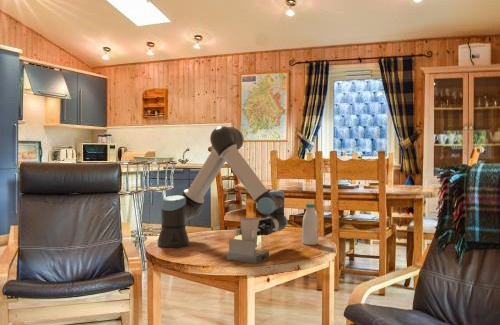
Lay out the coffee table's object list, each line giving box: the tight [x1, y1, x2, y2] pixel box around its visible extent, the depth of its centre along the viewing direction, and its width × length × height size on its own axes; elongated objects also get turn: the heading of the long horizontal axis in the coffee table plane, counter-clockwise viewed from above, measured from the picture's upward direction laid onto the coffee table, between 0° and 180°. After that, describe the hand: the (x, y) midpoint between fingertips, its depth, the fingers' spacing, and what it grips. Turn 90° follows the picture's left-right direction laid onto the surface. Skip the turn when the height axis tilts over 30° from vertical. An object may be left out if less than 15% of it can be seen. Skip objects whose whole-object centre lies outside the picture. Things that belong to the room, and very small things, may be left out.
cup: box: [239, 217, 260, 249], centre depth 207 cm, size 8×8×12 cm
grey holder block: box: [226, 238, 270, 265], centre depth 206 cm, size 14×12×9 cm
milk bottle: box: [301, 203, 319, 246], centre depth 241 cm, size 8×8×20 cm
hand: (244, 233), depth 202 cm, fingers closed on cup, 7 cm apart
